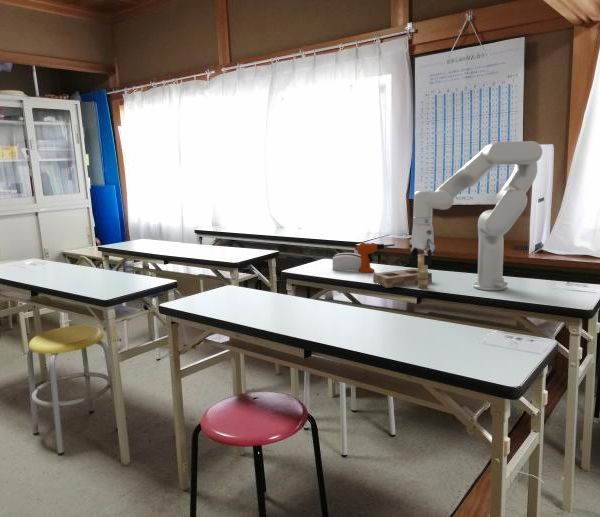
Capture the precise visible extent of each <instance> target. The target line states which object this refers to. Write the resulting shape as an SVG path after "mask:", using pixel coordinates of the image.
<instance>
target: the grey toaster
mask: <svg viewBox="0 0 600 517" xmlns="http://www.w3.org/2000/svg"><path fill="white" fill-rule="evenodd" d="M361 262H362V260H361V255H360V254H359V253H358V254H357V253H354V252H340V253H337V254H334V256H332V270H333V269H335V270H334V271H346V270H353V271H352V272H359V268H361Z"/></svg>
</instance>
